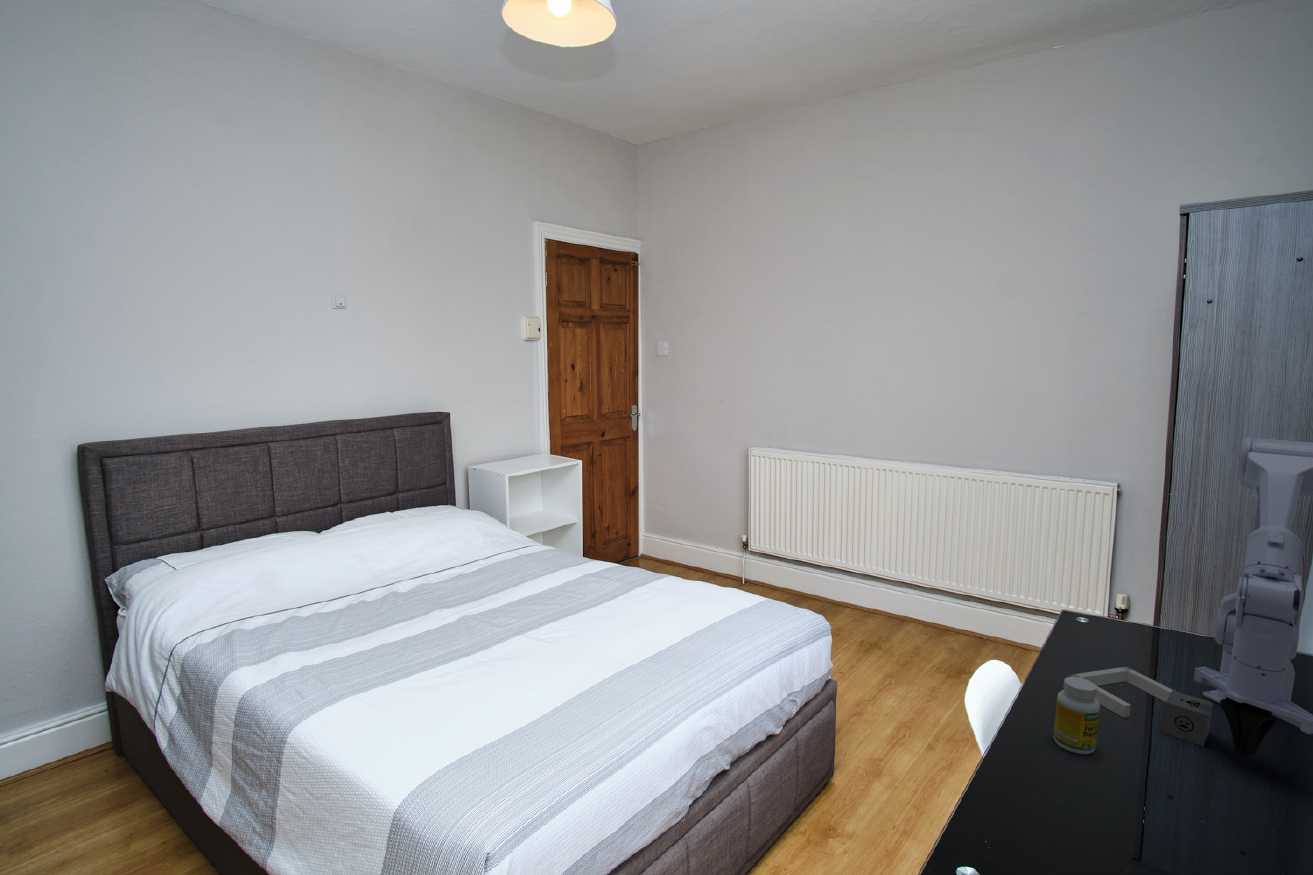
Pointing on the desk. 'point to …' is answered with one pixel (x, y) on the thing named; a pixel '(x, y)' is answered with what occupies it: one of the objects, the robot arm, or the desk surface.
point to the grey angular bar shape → (1122, 676)
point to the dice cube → (1187, 717)
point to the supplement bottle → (1077, 716)
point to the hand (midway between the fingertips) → (1244, 752)
